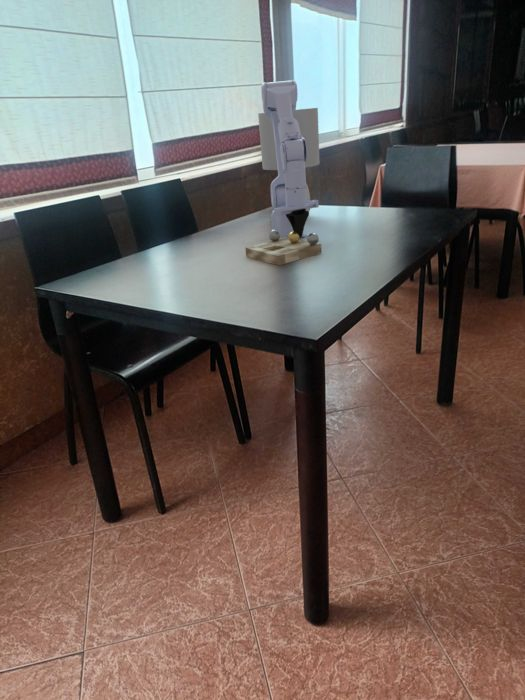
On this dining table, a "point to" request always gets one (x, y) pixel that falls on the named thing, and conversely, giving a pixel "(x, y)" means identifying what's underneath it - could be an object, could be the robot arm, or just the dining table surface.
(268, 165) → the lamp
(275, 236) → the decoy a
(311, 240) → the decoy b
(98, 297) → the dining table surface
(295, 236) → the ball
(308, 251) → the plate
